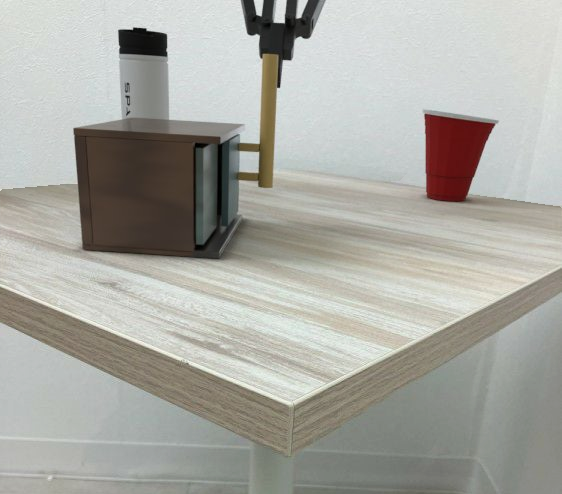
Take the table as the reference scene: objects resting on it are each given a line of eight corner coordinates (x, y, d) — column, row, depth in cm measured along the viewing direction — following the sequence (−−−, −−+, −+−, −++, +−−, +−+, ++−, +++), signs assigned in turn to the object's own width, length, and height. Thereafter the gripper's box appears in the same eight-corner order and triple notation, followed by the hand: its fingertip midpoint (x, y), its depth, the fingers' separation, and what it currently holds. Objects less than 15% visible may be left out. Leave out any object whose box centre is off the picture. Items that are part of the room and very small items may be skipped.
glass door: (271, 213, 72) (279, 55, 66) (265, 229, 65) (273, 51, 58) (232, 211, 73) (235, 52, 66) (221, 226, 65) (223, 48, 58)
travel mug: (166, 184, 94) (162, 29, 86) (174, 191, 89) (171, 27, 80) (122, 184, 92) (114, 26, 84) (127, 191, 87) (119, 23, 78)
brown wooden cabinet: (242, 219, 73) (245, 124, 69) (219, 258, 57) (220, 136, 53) (136, 212, 74) (132, 117, 70) (82, 249, 57) (72, 127, 53)
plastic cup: (493, 206, 91) (510, 115, 86) (417, 202, 91) (430, 110, 86) (474, 194, 101) (488, 112, 96) (405, 190, 101) (416, 108, 96)
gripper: (340, -41, 81) (331, 107, 73) (237, -46, 82) (216, 100, 73) (345, -103, 74) (336, 53, 66) (233, -108, 75) (209, 46, 66)
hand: (273, 78), depth 70 cm, fingers closed
